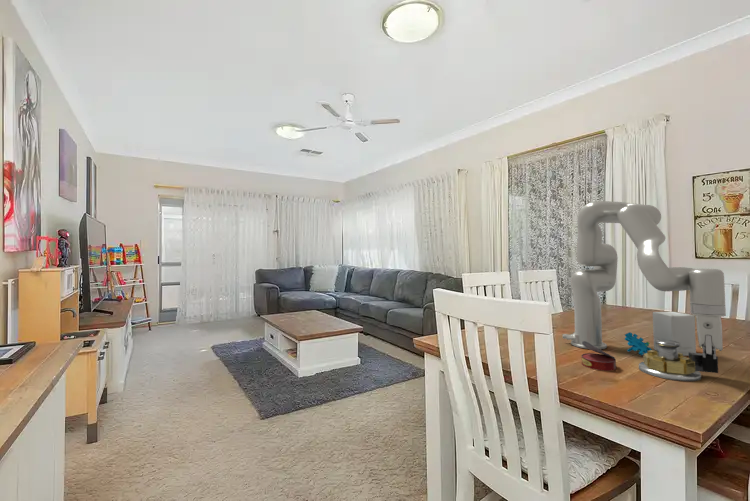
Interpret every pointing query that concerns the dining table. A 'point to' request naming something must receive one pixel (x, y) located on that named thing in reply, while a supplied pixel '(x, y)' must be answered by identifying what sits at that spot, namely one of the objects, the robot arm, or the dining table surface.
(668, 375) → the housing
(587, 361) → the canned food
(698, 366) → the ring nut
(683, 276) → the robot arm
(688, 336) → the supplement box
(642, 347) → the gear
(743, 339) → the dining table surface
